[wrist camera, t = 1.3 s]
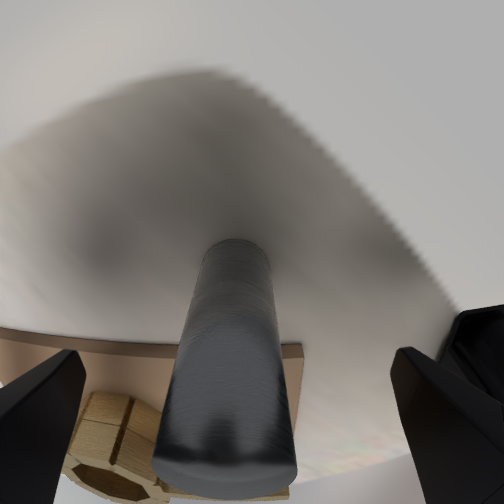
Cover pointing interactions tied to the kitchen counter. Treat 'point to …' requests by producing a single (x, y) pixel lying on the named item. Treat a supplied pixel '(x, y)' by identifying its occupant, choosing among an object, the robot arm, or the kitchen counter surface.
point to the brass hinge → (122, 452)
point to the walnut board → (122, 365)
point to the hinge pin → (228, 386)
